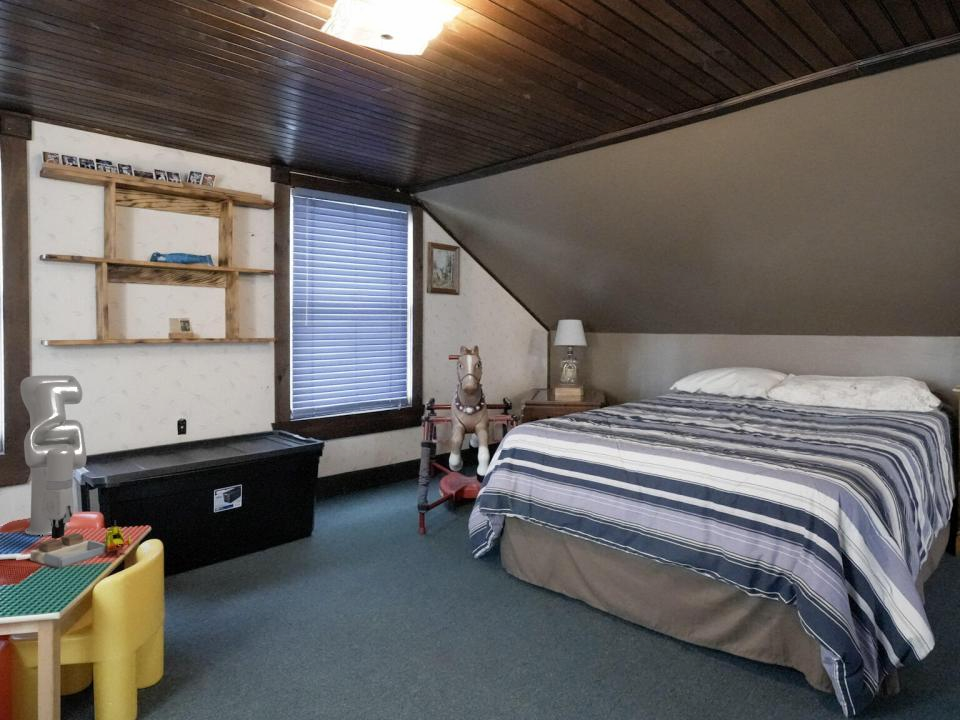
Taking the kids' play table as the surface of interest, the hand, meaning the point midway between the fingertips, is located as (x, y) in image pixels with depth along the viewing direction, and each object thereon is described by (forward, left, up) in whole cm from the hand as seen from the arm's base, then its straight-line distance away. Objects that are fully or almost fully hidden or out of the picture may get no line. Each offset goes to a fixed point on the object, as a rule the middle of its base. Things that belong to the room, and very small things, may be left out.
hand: (57, 537), depth 208 cm
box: (+15, -3, -4) cm, 15 cm away
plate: (+7, -3, -4) cm, 9 cm away
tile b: (+7, -7, -1) cm, 10 cm away
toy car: (+17, +9, -4) cm, 19 cm away
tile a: (+7, 0, -1) cm, 7 cm away
